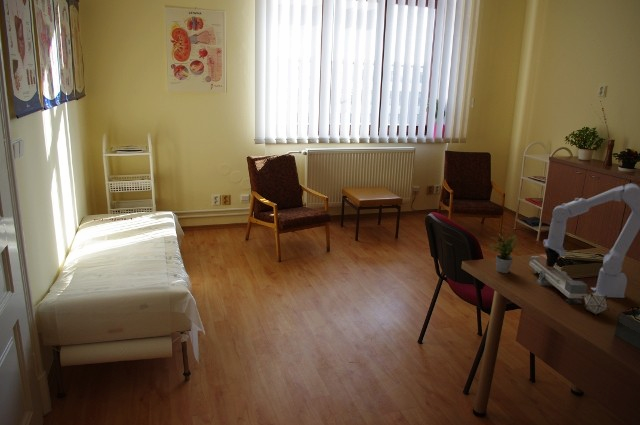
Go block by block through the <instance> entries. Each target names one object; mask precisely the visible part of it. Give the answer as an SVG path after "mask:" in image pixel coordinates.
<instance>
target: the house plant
mask: <svg viewBox="0 0 640 425" xmlns="http://www.w3.org/2000/svg"><path fill="white" fill-rule="evenodd" d="M498 236H499V238H500V241H499V240H498V239H497V238H495V237H491V236H490V238H492V240H495V242H496V244H497V245H494V244H488V245H489V246H490V247H492V249H491V253H492V252H498V253H500V254H496V255H495V271H496V272H498V273H502V274H508V273H509V272H510V269H511V268H512V267H511V266H512V263H513V260H514V258H513V257H512V254H513V252H514V249H515V248H517V246H518V242H519V240H517V239H516V237H517V235H513V236H512V237H511V236H509V237H508V239H507V240H505V238H504V237H503V236H502V235H501V234H500V233H498ZM516 252H518V253H521V251H519V250H516V251H515V253H516Z"/></svg>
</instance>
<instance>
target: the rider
mask: <svg viewBox="0 0 640 425" xmlns="http://www.w3.org/2000/svg"><path fill="white" fill-rule="evenodd" d="M538 256H539V261H538V263H540V264H541V265H542V266H543V267H545V268H546V269H553V267H549V266H548V264H547V255H546V254H539V255H538Z"/></svg>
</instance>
